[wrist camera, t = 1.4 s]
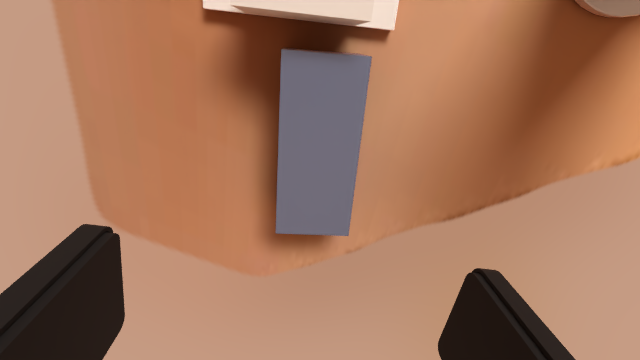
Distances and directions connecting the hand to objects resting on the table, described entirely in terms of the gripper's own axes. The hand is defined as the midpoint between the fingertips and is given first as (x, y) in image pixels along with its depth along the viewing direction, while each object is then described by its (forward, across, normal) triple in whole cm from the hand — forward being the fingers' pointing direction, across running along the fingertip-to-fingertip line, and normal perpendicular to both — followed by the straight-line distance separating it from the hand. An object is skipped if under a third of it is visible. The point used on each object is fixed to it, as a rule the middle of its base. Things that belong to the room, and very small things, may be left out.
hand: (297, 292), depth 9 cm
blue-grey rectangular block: (+21, -2, +1) cm, 21 cm away
